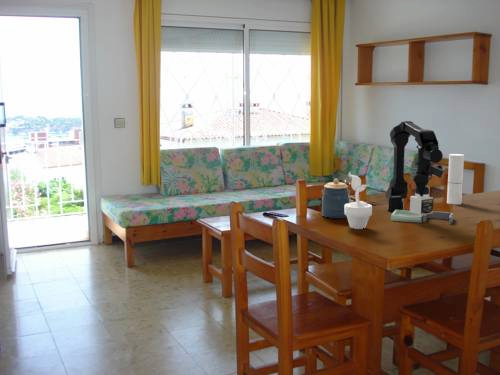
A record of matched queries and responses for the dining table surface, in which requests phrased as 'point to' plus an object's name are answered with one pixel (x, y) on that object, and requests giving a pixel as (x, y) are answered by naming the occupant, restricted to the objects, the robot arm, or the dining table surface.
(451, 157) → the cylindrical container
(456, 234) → the dining table surface
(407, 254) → the dining table surface
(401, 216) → the tray
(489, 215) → the dining table surface
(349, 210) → the potted plant
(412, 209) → the medicine bottle
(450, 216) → the dock
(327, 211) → the canister
